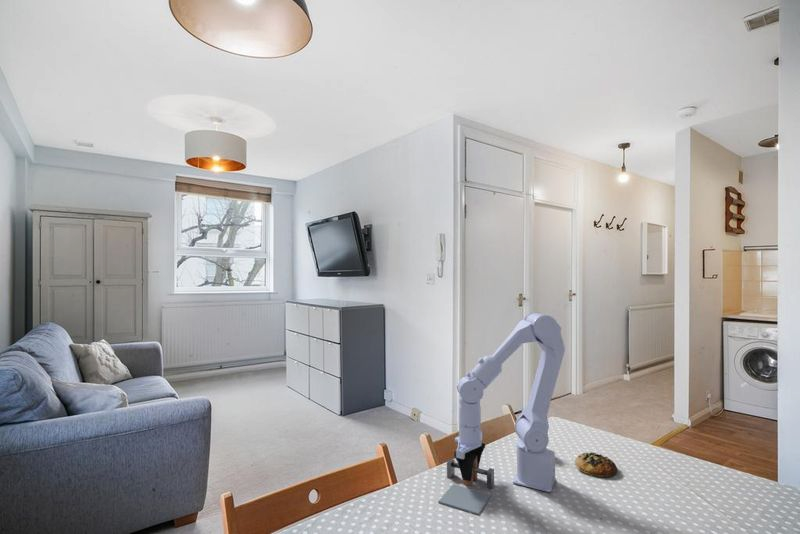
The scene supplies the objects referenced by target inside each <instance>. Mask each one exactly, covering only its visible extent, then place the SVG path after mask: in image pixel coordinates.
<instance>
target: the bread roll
mask: <svg viewBox="0 0 800 534" xmlns="http://www.w3.org/2000/svg"><path fill="white" fill-rule="evenodd" d="M574 463H575V466H576V468H577V469H579V471H580V472H581V473H583V474H585V475H587V474H588V475H587V476H590V475H592V477H594V476H595V477H596V476H597V477H598V478H603V477H606V478H610V477H611V478H612V477H614V476H615V475H616V474H617V473H618V467H617V465H616V463H615V462H614V461H613V460H612V459H610V457H608V456H604V455H602V454H598V453H597V452H582V453H580V454H578V455H577V456H576V458H575V459H574ZM613 475H614V476H613Z"/></svg>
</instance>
